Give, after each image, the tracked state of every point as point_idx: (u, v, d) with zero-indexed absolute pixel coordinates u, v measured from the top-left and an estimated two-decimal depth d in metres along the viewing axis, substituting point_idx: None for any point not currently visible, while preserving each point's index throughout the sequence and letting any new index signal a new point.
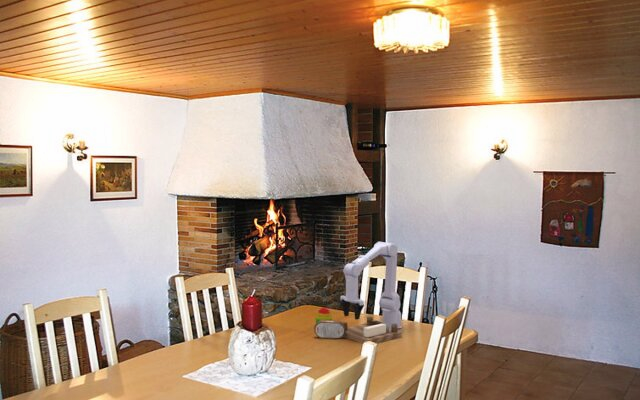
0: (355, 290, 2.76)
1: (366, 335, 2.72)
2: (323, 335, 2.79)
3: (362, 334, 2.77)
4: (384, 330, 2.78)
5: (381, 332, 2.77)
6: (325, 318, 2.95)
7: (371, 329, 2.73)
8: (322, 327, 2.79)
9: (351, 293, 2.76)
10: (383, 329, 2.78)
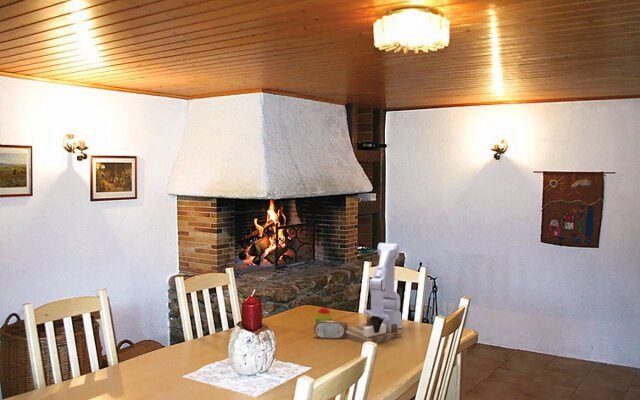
0: (380, 305, 2.71)
1: (366, 335, 2.72)
2: (323, 335, 2.79)
3: (362, 334, 2.77)
4: (384, 330, 2.78)
5: (381, 332, 2.77)
6: (325, 318, 2.95)
7: (371, 329, 2.73)
8: (322, 327, 2.79)
9: (376, 307, 2.70)
10: (383, 329, 2.78)
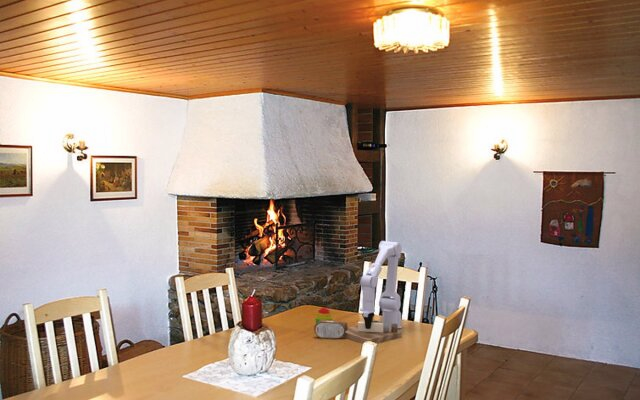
0: (366, 301, 2.77)
1: (358, 329, 2.82)
2: (323, 335, 2.79)
3: (362, 334, 2.77)
4: (381, 329, 2.80)
5: (377, 330, 2.80)
6: (325, 318, 2.95)
7: (363, 324, 2.81)
8: (322, 327, 2.79)
9: (363, 303, 2.78)
10: (379, 328, 2.80)
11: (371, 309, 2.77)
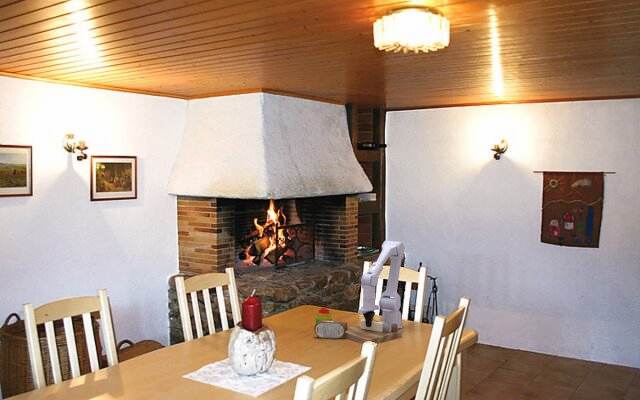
0: (365, 299, 2.81)
1: None
2: (323, 335, 2.79)
3: (362, 334, 2.77)
4: (380, 329, 2.81)
5: (376, 329, 2.82)
6: (325, 318, 2.95)
7: None
8: (322, 327, 2.79)
9: (363, 301, 2.83)
10: (379, 327, 2.81)
11: (369, 307, 2.80)
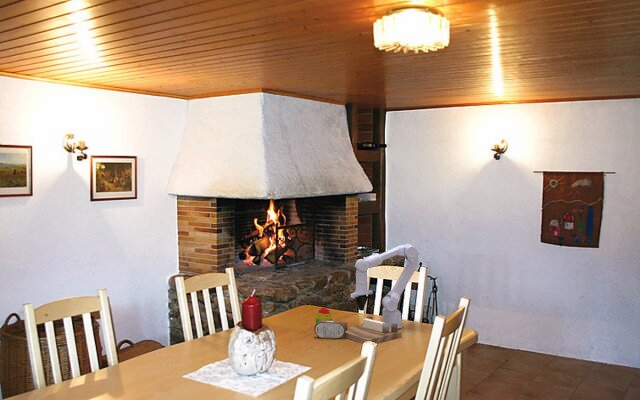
0: (357, 284, 2.94)
1: None
2: (323, 335, 2.79)
3: (362, 334, 2.77)
4: (380, 328, 2.81)
5: (377, 329, 2.82)
6: (325, 318, 2.95)
7: (367, 321, 2.87)
8: (322, 327, 2.79)
9: (356, 285, 2.96)
10: (379, 327, 2.81)
11: (361, 292, 2.93)
